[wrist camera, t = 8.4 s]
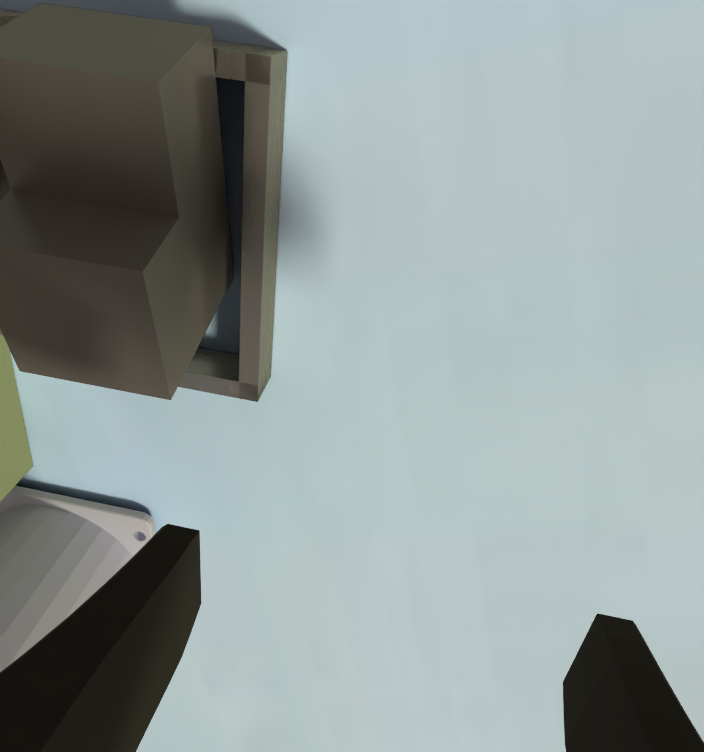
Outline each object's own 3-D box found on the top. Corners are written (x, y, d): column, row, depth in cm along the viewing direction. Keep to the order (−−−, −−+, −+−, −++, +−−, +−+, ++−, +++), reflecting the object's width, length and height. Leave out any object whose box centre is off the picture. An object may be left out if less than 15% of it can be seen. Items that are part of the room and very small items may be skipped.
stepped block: (233, 277, 19) (170, 399, 16) (107, 255, 20) (19, 370, 16) (211, 27, 14) (111, 129, 11) (40, 2, 14) (-109, 94, 11)
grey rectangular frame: (270, 376, 21) (257, 401, 20) (4, 326, 22) (-25, 348, 20) (287, 50, 16) (271, 56, 14) (-63, 0, 16) (-109, 1, 15)
